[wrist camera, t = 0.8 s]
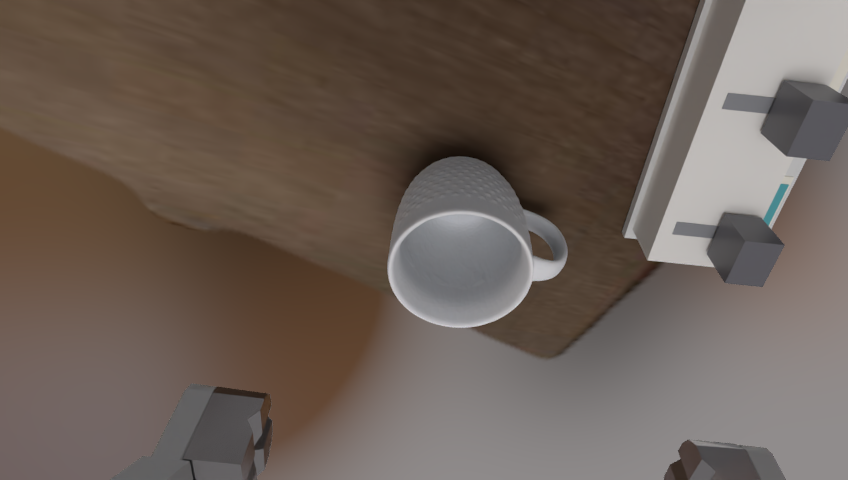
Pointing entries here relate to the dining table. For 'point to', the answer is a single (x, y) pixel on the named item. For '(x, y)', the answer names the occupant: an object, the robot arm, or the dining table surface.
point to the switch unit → (731, 120)
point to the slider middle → (807, 120)
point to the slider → (744, 250)
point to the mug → (466, 245)
